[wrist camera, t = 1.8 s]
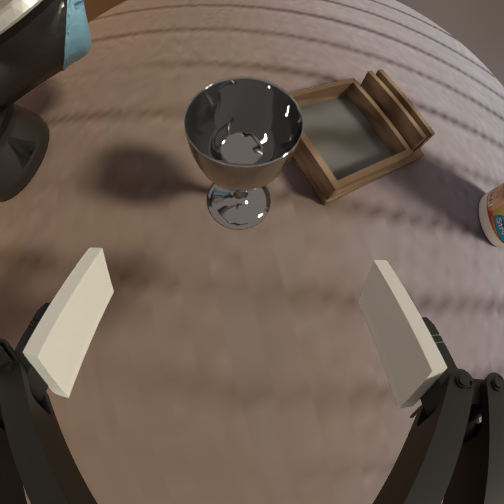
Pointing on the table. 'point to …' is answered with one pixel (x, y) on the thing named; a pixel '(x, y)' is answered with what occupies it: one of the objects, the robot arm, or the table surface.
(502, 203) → the fruit juice
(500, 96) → the table surface
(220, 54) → the table surface
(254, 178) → the silver goblet
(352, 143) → the wooden tray
